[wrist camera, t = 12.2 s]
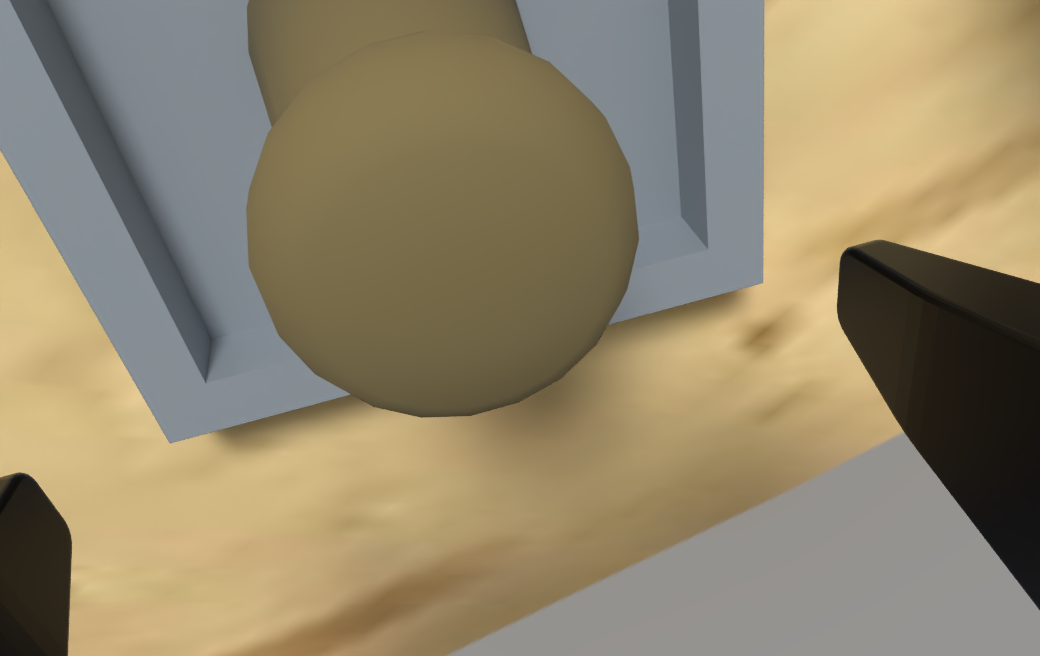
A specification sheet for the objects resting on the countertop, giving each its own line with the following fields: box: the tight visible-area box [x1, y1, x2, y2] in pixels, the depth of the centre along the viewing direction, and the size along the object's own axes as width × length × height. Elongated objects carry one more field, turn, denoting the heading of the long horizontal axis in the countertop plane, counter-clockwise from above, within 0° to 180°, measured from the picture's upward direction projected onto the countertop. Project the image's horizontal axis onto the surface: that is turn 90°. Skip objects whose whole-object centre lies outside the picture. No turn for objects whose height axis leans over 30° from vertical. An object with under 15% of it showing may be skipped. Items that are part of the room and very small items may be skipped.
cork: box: [246, 0, 639, 417], centre depth 15 cm, size 6×6×11 cm
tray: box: [0, 0, 764, 443], centre depth 18 cm, size 16×16×2 cm
